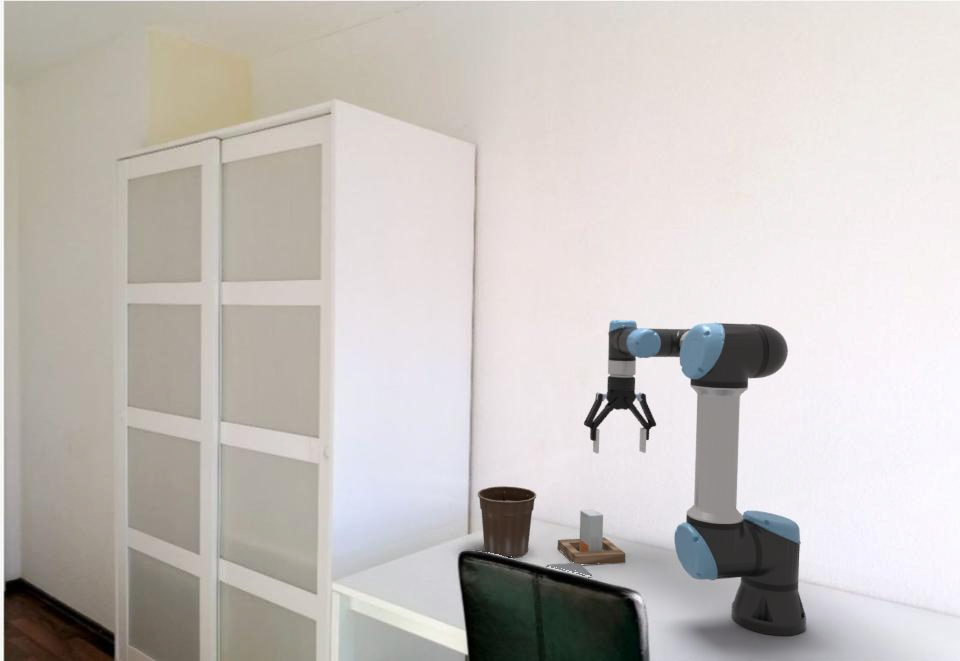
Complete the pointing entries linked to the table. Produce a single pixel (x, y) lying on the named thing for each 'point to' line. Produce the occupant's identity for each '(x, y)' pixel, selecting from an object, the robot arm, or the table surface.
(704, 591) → the table surface
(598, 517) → the skincare box
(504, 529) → the plant pot
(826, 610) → the table surface
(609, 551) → the frame
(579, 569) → the mat
